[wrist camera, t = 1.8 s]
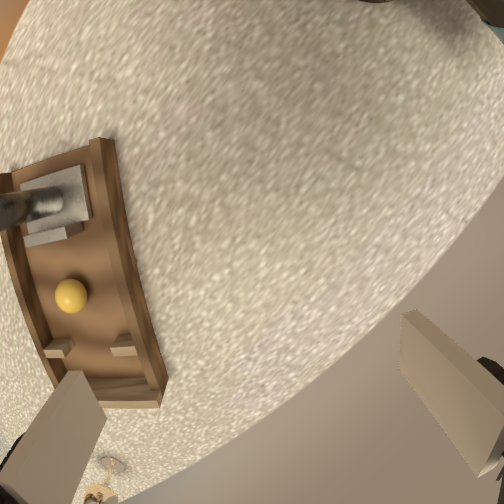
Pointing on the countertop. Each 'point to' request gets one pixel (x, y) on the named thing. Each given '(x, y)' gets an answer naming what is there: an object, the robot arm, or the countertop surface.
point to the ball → (71, 296)
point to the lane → (88, 289)
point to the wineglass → (103, 485)
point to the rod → (48, 206)
